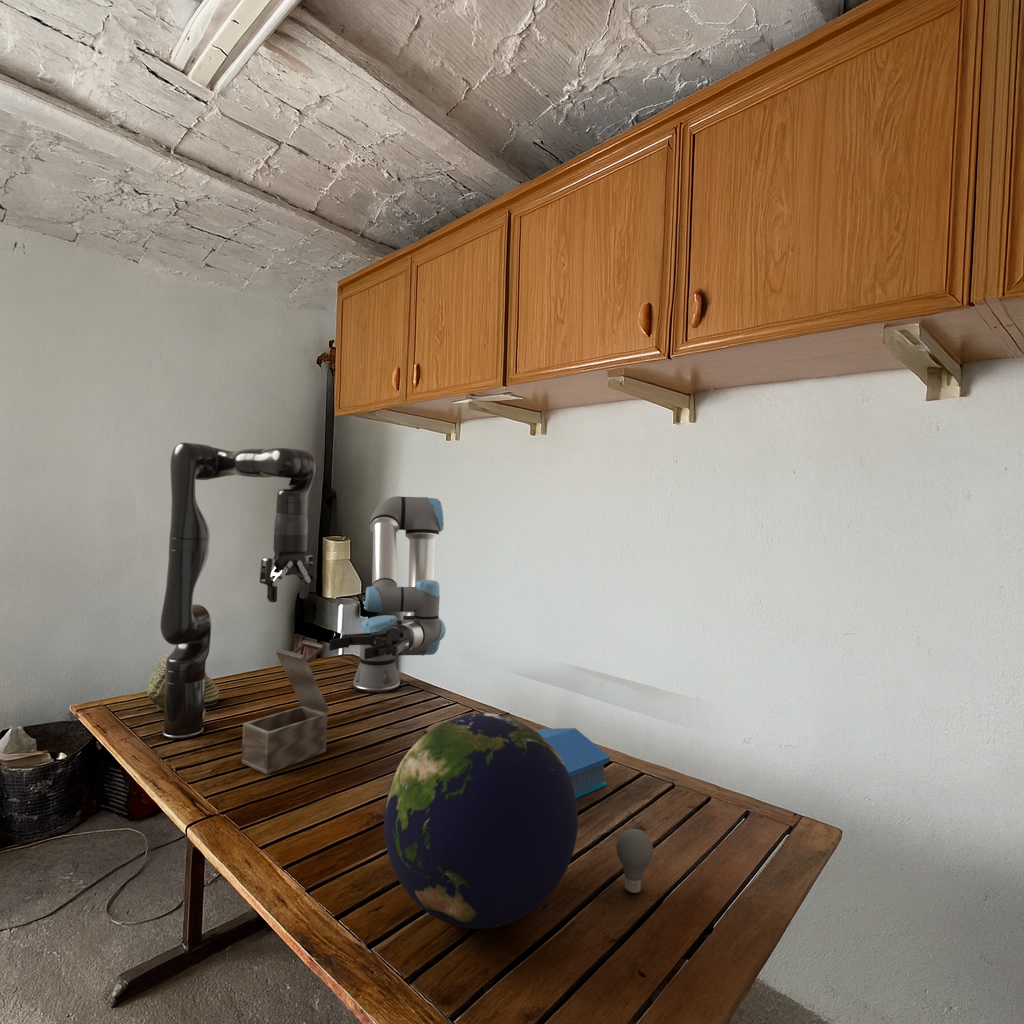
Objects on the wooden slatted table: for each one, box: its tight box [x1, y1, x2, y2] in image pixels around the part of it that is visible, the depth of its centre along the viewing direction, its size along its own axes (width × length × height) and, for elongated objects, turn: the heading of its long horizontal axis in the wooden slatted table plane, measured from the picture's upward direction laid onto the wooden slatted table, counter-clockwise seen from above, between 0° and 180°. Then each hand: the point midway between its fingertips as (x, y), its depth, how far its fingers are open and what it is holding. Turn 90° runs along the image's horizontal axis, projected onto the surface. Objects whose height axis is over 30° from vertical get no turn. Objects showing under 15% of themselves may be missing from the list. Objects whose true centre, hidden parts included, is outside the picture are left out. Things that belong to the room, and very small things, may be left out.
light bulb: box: [615, 828, 654, 894], centre depth 106 cm, size 6×6×10 cm
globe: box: [383, 712, 579, 930], centre depth 99 cm, size 30×30×30 cm
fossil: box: [147, 654, 221, 712], centre depth 185 cm, size 9×18×15 cm, turn 132°
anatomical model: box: [425, 711, 477, 733], centre depth 175 cm, size 13×4×12 cm
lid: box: [275, 639, 330, 714], centre depth 158 cm, size 17×10×8 cm
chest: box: [241, 705, 328, 775], centre depth 153 cm, size 17×10×9 cm, turn 146°
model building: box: [535, 727, 611, 799], centre depth 138 cm, size 39×24×10 cm, turn 132°
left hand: (288, 600), depth 151 cm, fingers open, 8 cm apart
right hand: (347, 649), depth 167 cm, fingers open, 13 cm apart
